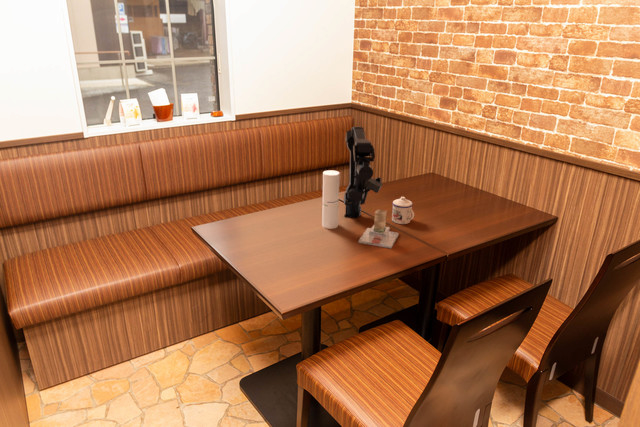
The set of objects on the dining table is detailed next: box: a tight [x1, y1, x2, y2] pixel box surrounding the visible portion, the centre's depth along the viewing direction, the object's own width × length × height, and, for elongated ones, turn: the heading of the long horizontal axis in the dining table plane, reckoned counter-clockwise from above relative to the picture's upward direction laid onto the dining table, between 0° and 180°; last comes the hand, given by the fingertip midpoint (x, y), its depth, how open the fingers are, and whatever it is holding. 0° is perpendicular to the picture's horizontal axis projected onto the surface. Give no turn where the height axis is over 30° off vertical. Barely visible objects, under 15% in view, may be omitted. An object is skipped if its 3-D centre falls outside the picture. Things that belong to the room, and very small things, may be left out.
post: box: [373, 209, 388, 232], centre depth 195 cm, size 4×4×8 cm
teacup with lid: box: [391, 196, 415, 225], centre depth 213 cm, size 12×9×12 cm
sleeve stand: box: [358, 224, 399, 249], centre depth 197 cm, size 14×14×4 cm
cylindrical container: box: [321, 169, 341, 230], centre depth 205 cm, size 7×7×25 cm
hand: (360, 207), depth 196 cm, fingers open, 9 cm apart
